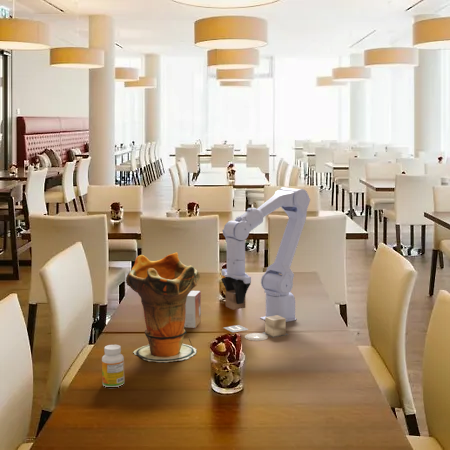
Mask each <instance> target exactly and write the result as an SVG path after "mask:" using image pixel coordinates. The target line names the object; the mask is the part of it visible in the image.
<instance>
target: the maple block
mask: <svg viewBox="0 0 450 450" xmlns="http://www.w3.org/2000/svg"><path fill="white" fill-rule="evenodd" d="M264 321H265V322H264V328H265V330H264V332H265V333H267V334H269V335H271V336H273V337H274V336H279V335H285V334H287V332H286V331H287V330H286V327H287V326H286V324H287V322H286V318H283V317H281V316H278V315H275V316H269V317H265V320H264ZM285 336H286V335H285ZM274 338H275V337H274Z"/></svg>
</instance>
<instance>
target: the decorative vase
mask: <svg viewBox="0 0 450 450" xmlns="http://www.w3.org/2000/svg"><path fill="white" fill-rule="evenodd" d="M200 274H201V273H200V272H199V271H198V270H197V269H196V268H194V266H193V265H192V264H190V265H186V264H184V263H182V261H181V260H180V258H179V253H178V252H177V251H176V252H174V253H170V254H168V255H166V256H165V257H163V258H161V259H158V260H150V259H149V258H148V257H147V256H145V255H144V254H139V255H138V256H136V257H135V260H134V264H133V266H132V268H131V270H130V271H129V272H128V273H127V274H126V277H125V283H126V285H127V286H129V288H131V290H133V291H134V292H136V294H138V295H139V297H140V299H141V305H142V307H143V315H144V316H143V317H144V323H145V326H146V329H145V331H144V334H145V337H146V339H147V341H148V344H147V345H143V346H141V347H138V348H137V349H135V350H134V351H133V352H132V354H133V353H134V356H135V355H136V356H138V357H139V358H141V359H142V360H144V361H148V362H156V363H169V362H177V361H184V360H188V359H190V358H191V357H194V355H196V354H197V348H196V347H194V346H193V345H192V341H191V340H190V337H188V340H189V343H190V345H189V344H186V343H183V342H184V336H185V335H186V334H188V333H187V331H186V329H185V327H184V324H185V318H186V300H187V296H188V294H189V293H190V292H191V291H193V289H194V288H195V287H197V286H198V283H199V281H200V278H201V275H200Z"/></svg>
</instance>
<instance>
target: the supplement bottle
mask: <svg viewBox="0 0 450 450" xmlns="http://www.w3.org/2000/svg"><path fill="white" fill-rule="evenodd" d="M121 347H122V346H121V345H119V344H108V345H105V346H104V348H103V349H104V351H103V352H104V355H103V356H101V373H102V374H101V378H102V379H101V381H102V382H101V383H102V386H103V387H104V386H105V387H104V388H106V387H118V388H120V387H119V386H121V385H123V384H124V385H125V356H124V355H123V354H122V352H121V351H122V348H121ZM124 385H123V386H124ZM121 387H122V386H121Z"/></svg>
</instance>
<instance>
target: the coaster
mask: <svg viewBox="0 0 450 450" xmlns="http://www.w3.org/2000/svg"><path fill="white" fill-rule="evenodd" d="M244 338H245V339H246V340H249V341H253V342H258V341H259V342H260V341H265V340H268V338H269V336H268V335H266V334H263V333H261V332H260V333H259V332H253V333H252V332H251V333H248V334H245V335H244Z"/></svg>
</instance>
